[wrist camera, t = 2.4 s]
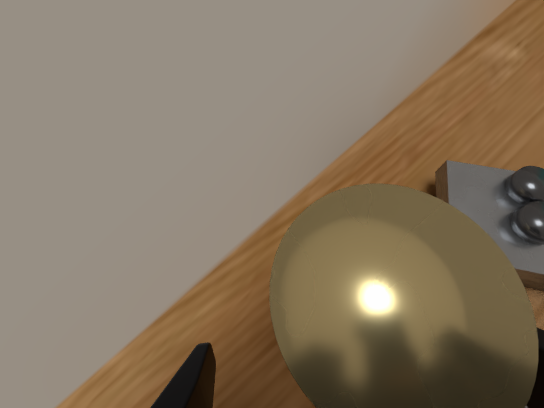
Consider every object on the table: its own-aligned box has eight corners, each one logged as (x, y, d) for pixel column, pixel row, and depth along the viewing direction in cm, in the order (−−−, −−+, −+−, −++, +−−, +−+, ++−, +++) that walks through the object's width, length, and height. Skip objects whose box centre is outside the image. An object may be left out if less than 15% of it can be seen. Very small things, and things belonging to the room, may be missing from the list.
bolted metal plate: (694, 762, 10) (942, 1028, 6) (428, 647, 11) (499, 807, 7) (557, 204, 19) (619, 176, 16) (425, 181, 21) (455, 151, 17)
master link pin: (350, 348, 16) (602, 454, 3) (284, 352, 16) (277, 469, 3) (339, 280, 18) (473, 176, 5) (280, 284, 18) (264, 191, 5)
